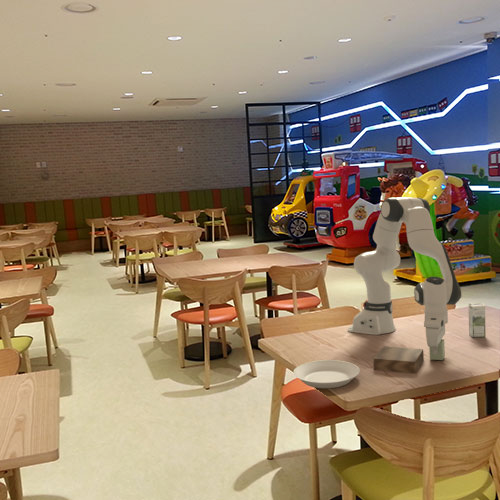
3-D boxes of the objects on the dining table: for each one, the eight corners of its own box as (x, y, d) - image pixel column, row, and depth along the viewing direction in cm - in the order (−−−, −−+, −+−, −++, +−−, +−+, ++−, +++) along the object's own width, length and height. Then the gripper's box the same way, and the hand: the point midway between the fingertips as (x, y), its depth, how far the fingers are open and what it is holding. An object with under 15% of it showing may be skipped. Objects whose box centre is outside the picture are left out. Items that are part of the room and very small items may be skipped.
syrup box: (482, 333, 261) (481, 302, 260) (486, 337, 256) (485, 305, 254) (469, 334, 262) (468, 303, 260) (472, 337, 256) (471, 306, 254)
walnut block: (373, 370, 226) (373, 358, 225) (384, 358, 240) (383, 346, 239) (415, 374, 218) (415, 361, 218) (423, 361, 232) (423, 349, 232)
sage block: (429, 359, 232) (429, 342, 231) (432, 355, 236) (431, 338, 235) (442, 360, 229) (442, 343, 228) (444, 356, 234) (444, 339, 233)
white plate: (317, 365, 237) (316, 356, 236) (372, 375, 221) (371, 365, 220) (280, 384, 218) (280, 375, 217) (338, 397, 202) (337, 387, 201)
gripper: (432, 311, 241) (433, 343, 243) (423, 324, 223) (424, 358, 225) (448, 312, 238) (449, 344, 240) (439, 325, 220) (440, 360, 222)
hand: (437, 351), depth 232 cm, fingers closed on sage block, 5 cm apart
